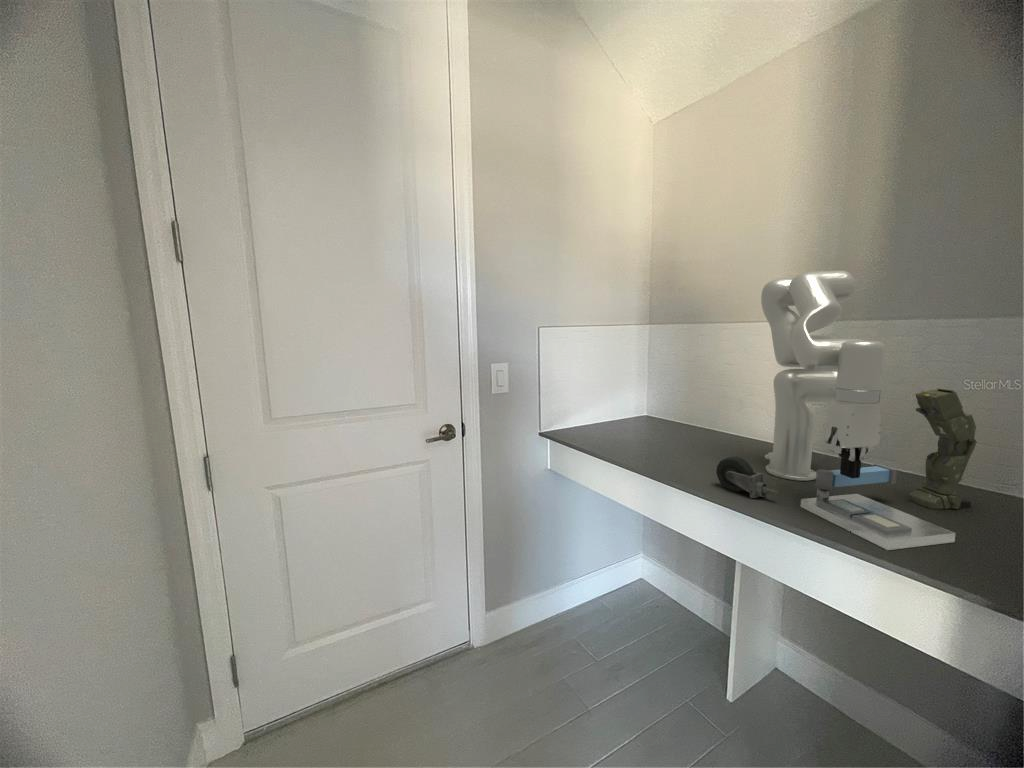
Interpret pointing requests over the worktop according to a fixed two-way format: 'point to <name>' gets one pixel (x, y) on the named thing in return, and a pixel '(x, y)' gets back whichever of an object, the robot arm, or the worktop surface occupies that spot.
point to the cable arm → (867, 476)
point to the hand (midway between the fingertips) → (849, 475)
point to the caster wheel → (742, 477)
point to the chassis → (876, 521)
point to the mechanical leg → (945, 449)
